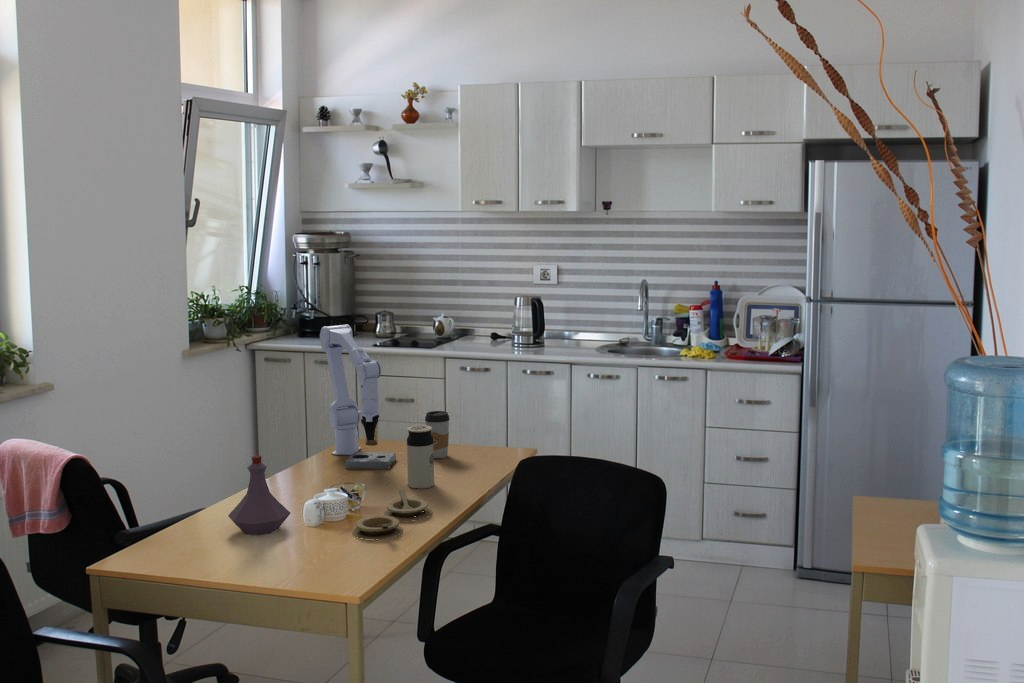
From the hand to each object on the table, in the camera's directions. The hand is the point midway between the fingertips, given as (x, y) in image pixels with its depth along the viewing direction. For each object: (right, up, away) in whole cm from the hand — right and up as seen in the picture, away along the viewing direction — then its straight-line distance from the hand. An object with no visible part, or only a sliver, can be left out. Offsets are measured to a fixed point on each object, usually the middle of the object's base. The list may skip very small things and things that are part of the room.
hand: (370, 438), depth 339 cm
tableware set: (+14, -18, -60) cm, 65 cm away
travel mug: (+19, -12, -25) cm, 34 cm away
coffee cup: (+21, -7, +9) cm, 25 cm away
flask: (-21, -18, -65) cm, 70 cm away
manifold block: (0, -9, +1) cm, 9 cm away
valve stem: (0, -2, 0) cm, 2 cm away
